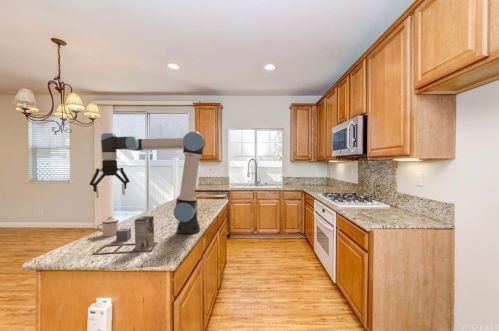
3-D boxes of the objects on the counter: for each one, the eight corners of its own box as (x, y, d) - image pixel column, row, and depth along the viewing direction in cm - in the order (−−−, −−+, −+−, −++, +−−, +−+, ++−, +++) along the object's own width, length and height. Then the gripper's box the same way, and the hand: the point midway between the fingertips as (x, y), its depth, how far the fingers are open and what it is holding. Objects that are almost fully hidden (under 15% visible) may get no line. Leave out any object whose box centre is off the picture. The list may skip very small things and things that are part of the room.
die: (131, 237, 142) (130, 227, 141) (127, 241, 136) (127, 230, 136) (120, 238, 141) (120, 228, 141) (116, 241, 135) (116, 231, 135)
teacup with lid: (119, 231, 155) (119, 214, 154) (117, 235, 146) (117, 217, 146) (98, 233, 150) (98, 215, 150) (95, 238, 142) (94, 219, 142)
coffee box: (143, 244, 130) (142, 216, 130) (154, 244, 130) (154, 215, 129) (134, 250, 120) (134, 220, 120) (146, 250, 120) (146, 220, 120)
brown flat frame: (157, 243, 132) (157, 242, 132) (151, 251, 119) (151, 250, 119) (104, 245, 128) (104, 244, 128) (92, 254, 115) (92, 253, 115)
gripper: (130, 159, 147) (131, 193, 148) (82, 160, 130) (83, 198, 130) (134, 159, 142) (135, 193, 142) (85, 160, 125) (86, 199, 125)
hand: (110, 196), depth 136 cm, fingers open, 13 cm apart
